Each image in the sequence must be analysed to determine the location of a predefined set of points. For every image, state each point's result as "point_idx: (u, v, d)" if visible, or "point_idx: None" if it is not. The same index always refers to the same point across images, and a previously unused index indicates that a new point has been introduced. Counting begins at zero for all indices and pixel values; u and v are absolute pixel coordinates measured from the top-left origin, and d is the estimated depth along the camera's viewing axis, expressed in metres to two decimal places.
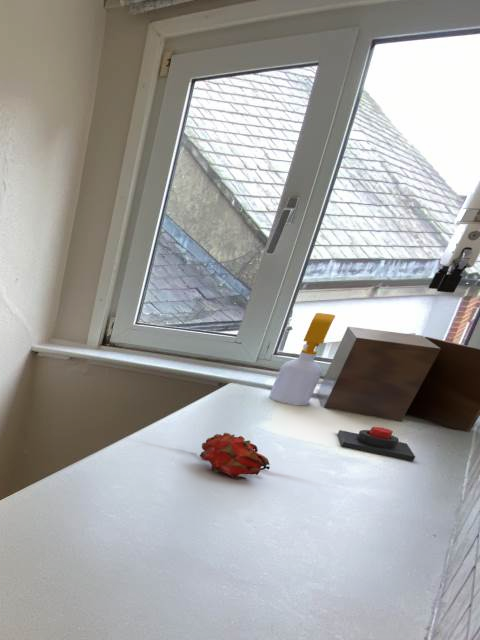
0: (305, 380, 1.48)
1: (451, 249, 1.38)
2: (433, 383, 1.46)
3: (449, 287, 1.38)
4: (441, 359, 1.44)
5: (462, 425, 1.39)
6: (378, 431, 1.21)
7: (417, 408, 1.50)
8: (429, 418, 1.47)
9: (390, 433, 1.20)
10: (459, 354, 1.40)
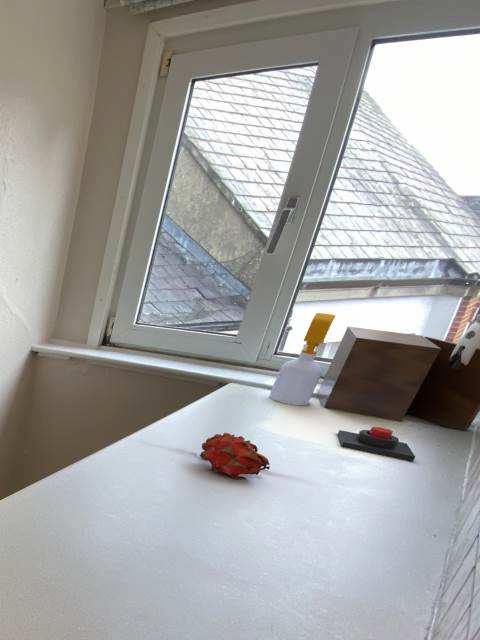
0: (305, 380, 1.48)
1: None
2: (432, 383, 1.46)
3: None
4: (440, 359, 1.45)
5: (459, 424, 1.39)
6: (378, 431, 1.21)
7: (416, 408, 1.50)
8: (427, 418, 1.47)
9: (390, 433, 1.20)
10: None
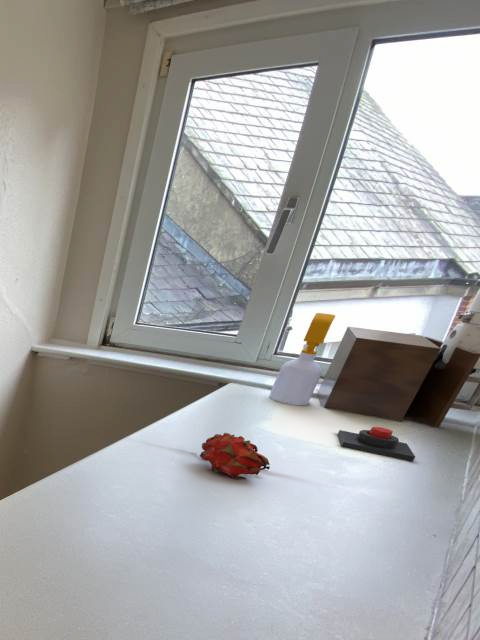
0: (305, 380, 1.48)
1: None
2: None
3: None
4: None
5: (432, 421, 1.40)
6: (378, 431, 1.21)
7: None
8: (412, 416, 1.47)
9: (390, 433, 1.20)
10: None
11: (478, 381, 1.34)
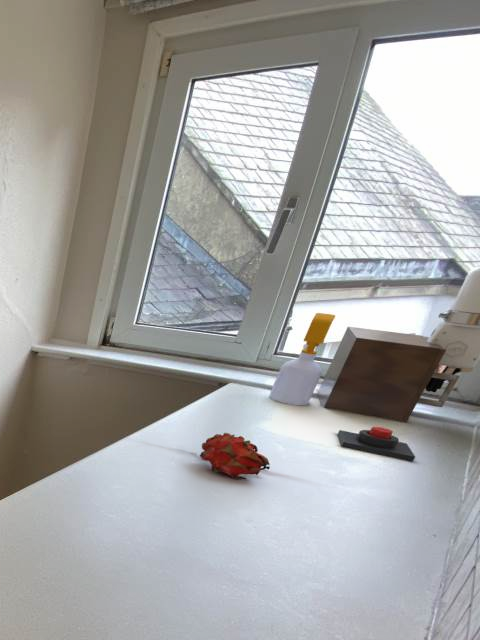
0: (305, 380, 1.48)
1: None
2: None
3: None
4: None
5: None
6: (378, 431, 1.21)
7: None
8: None
9: (390, 433, 1.20)
10: None
11: (447, 378, 1.35)
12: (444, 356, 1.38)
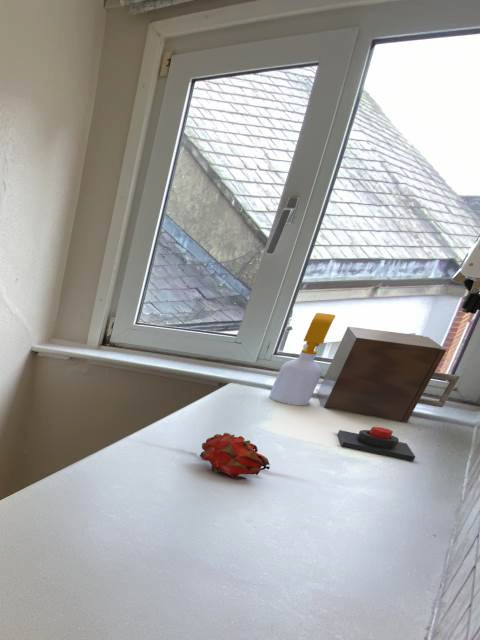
0: (305, 380, 1.48)
1: None
2: None
3: (462, 306, 1.21)
4: None
5: None
6: (378, 431, 1.21)
7: None
8: None
9: (390, 433, 1.20)
10: None
11: (448, 378, 1.35)
12: None
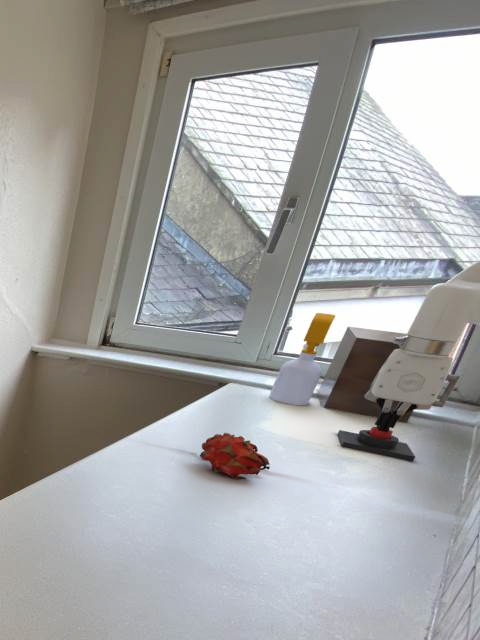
0: (305, 380, 1.48)
1: None
2: None
3: (375, 423, 1.21)
4: None
5: None
6: (378, 431, 1.21)
7: None
8: None
9: (390, 433, 1.20)
10: None
11: (448, 378, 1.35)
12: (398, 390, 1.16)
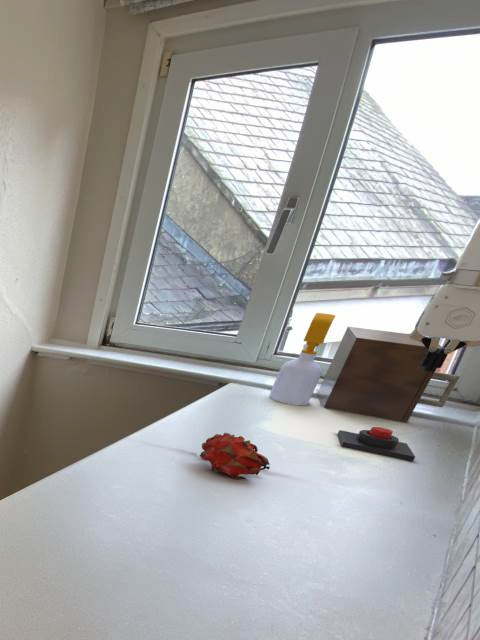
0: (305, 380, 1.48)
1: None
2: None
3: (421, 363, 1.17)
4: None
5: None
6: (378, 431, 1.21)
7: None
8: None
9: (390, 433, 1.20)
10: None
11: (448, 378, 1.35)
12: (446, 327, 1.12)
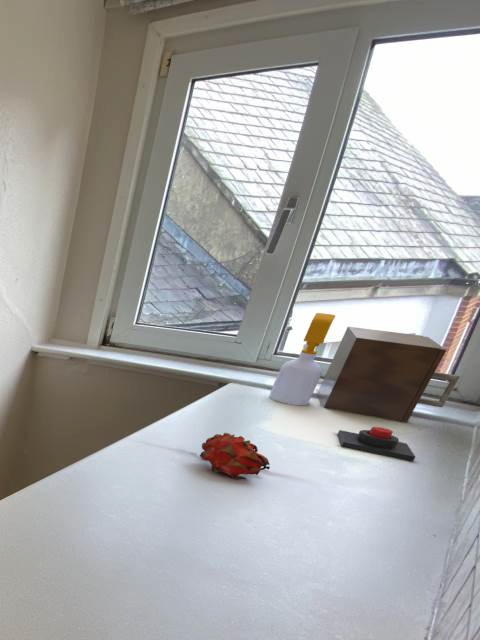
0: (305, 380, 1.48)
1: None
2: None
3: None
4: None
5: None
6: (378, 431, 1.21)
7: None
8: None
9: (390, 433, 1.20)
10: None
11: (448, 378, 1.35)
12: None
